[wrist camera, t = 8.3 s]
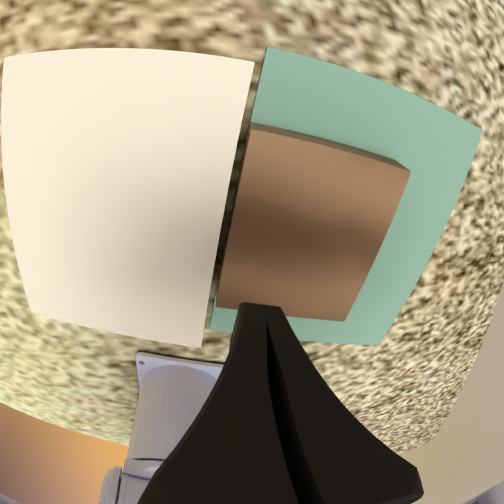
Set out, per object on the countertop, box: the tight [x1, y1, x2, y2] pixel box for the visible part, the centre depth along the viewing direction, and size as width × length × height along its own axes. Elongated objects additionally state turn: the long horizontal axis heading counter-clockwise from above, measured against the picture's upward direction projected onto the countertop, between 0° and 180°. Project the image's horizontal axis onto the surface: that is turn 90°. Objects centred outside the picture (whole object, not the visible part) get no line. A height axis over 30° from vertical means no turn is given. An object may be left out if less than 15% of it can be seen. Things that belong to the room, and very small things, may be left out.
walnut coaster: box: [215, 122, 411, 322], centre depth 17 cm, size 10×8×2 cm
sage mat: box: [210, 47, 482, 345], centre depth 18 cm, size 18×14×1 cm
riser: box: [1, 48, 255, 348], centre depth 15 cm, size 16×12×3 cm
